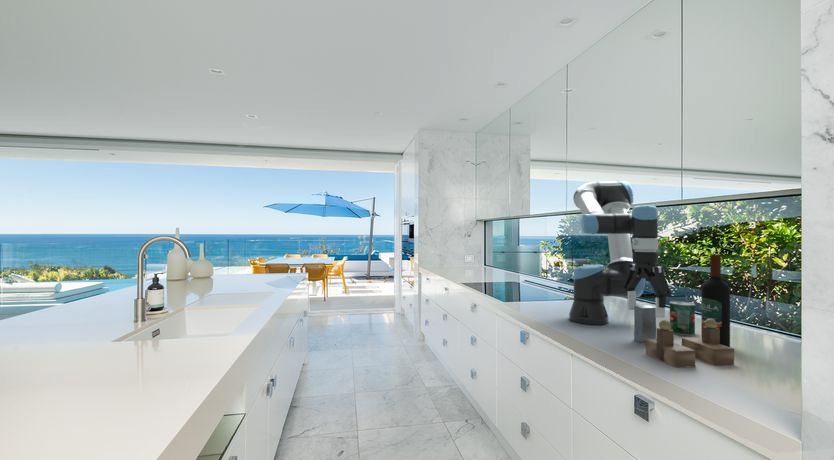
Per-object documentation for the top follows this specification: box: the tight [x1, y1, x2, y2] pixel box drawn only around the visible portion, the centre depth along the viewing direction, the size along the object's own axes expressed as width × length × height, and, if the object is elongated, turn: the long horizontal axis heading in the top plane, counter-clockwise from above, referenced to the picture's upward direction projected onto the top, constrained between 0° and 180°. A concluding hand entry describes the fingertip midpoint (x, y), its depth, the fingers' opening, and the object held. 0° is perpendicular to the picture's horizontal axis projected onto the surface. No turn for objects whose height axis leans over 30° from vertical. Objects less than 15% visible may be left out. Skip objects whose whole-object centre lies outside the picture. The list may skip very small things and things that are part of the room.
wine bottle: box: [700, 254, 731, 348], centre depth 128 cm, size 8×8×30 cm
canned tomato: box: [669, 300, 696, 336], centre depth 144 cm, size 8×8×11 cm
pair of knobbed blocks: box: [645, 319, 735, 368], centre depth 115 cm, size 12×18×12 cm, turn 97°
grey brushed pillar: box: [633, 304, 657, 344], centre depth 132 cm, size 4×5×12 cm
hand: (645, 313), depth 132 cm, fingers open, 13 cm apart
